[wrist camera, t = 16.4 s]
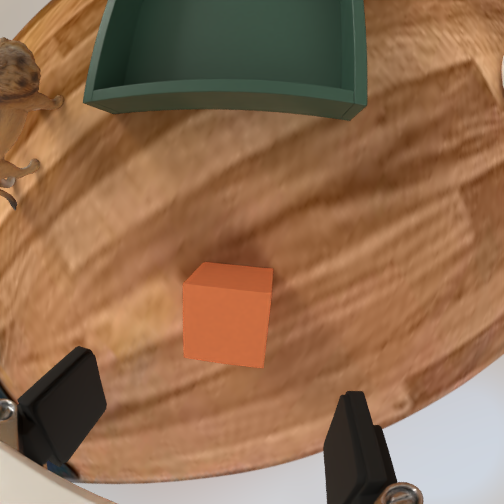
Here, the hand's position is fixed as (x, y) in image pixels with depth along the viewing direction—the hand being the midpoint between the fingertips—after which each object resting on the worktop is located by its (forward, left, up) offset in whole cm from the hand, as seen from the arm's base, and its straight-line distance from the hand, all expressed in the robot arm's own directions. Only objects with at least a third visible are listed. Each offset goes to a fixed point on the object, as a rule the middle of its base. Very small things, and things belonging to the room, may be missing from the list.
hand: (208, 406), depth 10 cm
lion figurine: (+21, -13, -13) cm, 27 cm away
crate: (+3, -22, -12) cm, 25 cm away
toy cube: (+1, +1, -12) cm, 12 cm away
